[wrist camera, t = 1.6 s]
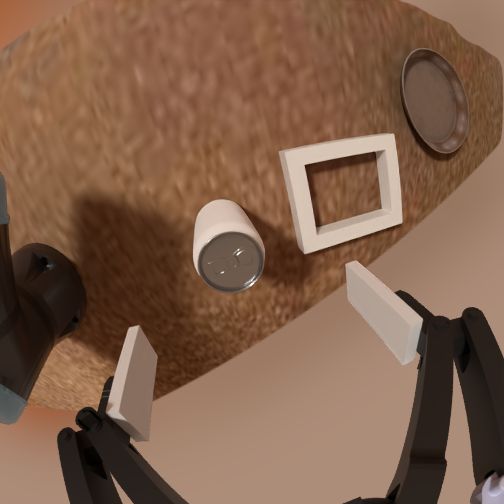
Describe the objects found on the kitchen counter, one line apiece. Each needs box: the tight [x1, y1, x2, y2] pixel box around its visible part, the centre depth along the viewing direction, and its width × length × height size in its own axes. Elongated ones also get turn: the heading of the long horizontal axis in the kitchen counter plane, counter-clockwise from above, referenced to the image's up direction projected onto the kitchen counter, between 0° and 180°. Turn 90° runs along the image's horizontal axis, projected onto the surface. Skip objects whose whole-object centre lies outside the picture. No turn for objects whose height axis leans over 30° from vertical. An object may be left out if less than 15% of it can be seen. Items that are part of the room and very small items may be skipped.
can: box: [193, 200, 265, 293], centre depth 28 cm, size 6×6×12 cm
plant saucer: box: [400, 48, 469, 153], centre depth 30 cm, size 18×18×3 cm
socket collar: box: [279, 134, 402, 254], centre depth 33 cm, size 16×13×2 cm
